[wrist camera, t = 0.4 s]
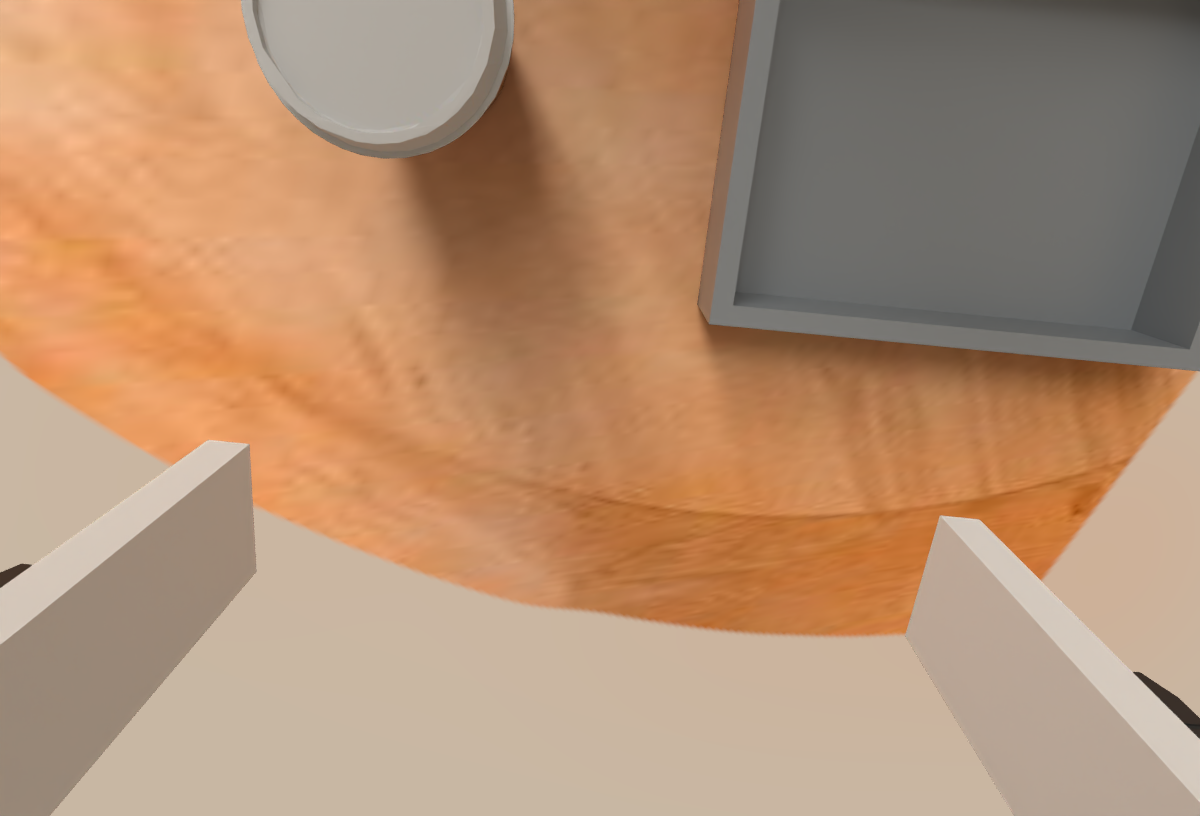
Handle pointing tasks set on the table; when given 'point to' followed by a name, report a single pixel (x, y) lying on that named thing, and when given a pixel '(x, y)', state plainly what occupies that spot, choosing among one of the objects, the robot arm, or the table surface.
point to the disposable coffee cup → (383, 67)
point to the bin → (963, 176)
